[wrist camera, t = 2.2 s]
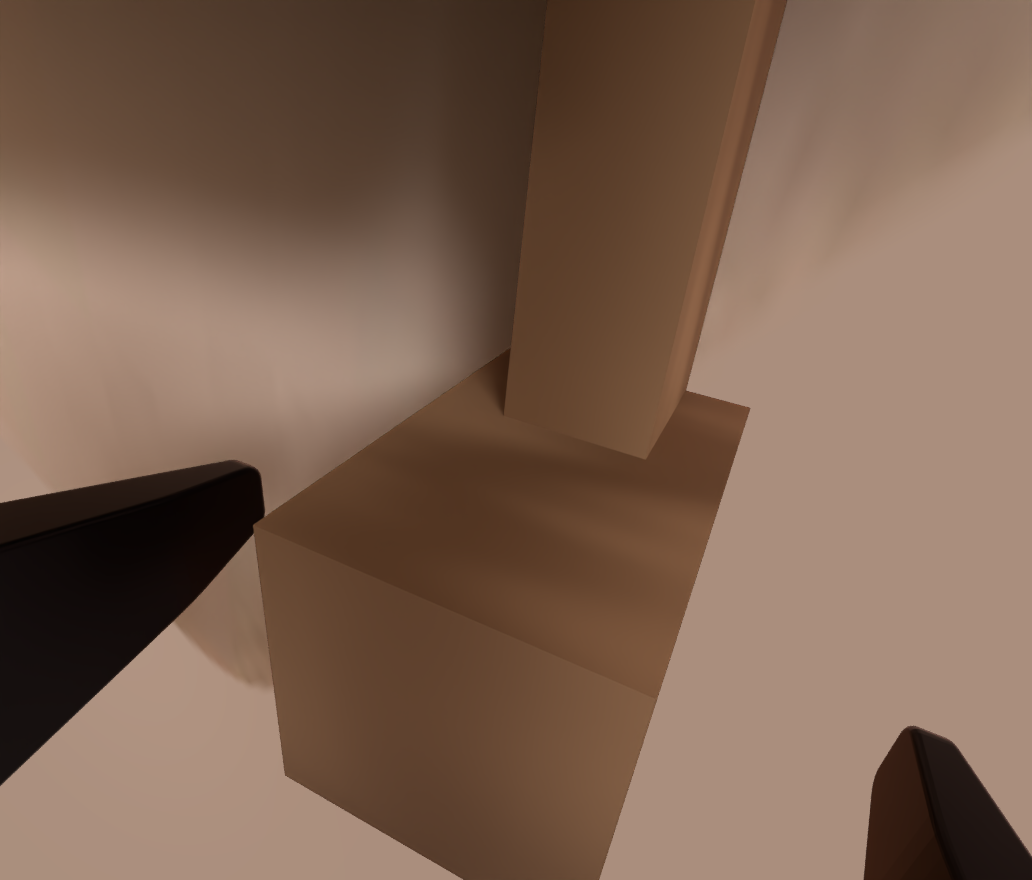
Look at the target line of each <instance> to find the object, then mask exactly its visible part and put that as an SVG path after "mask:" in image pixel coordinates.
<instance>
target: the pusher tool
mask: <svg viewBox="0 0 1032 880" xmlns="http://www.w3.org/2000/svg"><path fill="white" fill-rule="evenodd" d="M786 3H787V0H547V7H546V17H545V26H544V36H543V45H542V55H541V64H540V74H539V83H538V93H537V102H536V112H535V122H534V131H533V141H532V150H531V160H530V169H529V179H528V188H527V198H526V207H525V217H524V226H523V236H522V246H521V255H520V265H519V274H518V284H517V293H516V303H515V312H514V322H513V331H512V341H511V348H510V349H508V350H507V351H505V352H504V353H502V354H501V355H499V356H498V357H497V358H495V359H494V360H492V361H491V362H489V363H488V364H486V365H485V366H483V367H482V368H481V369H479V370H478V371H476V372H475V373H473V374H472V375H470V376H469V377H467V378H466V379H465V380H463V381H462V382H460V383H459V384H457V385H456V386H454V387H453V388H451V389H450V390H449V391H447V392H446V393H444V394H443V395H441V396H440V397H438V398H437V399H435V400H434V401H433V402H431V403H430V404H428V405H427V406H425V407H424V408H422V409H421V410H419V411H418V412H417V413H415V414H414V415H412V416H411V417H409V418H408V419H406V420H405V421H403V422H402V423H401V424H399V425H398V426H396V427H395V428H393V429H392V430H390V431H389V432H388V433H386V434H385V435H383V436H382V437H380V438H379V439H377V440H376V441H374V442H373V443H372V444H370V445H369V446H367V447H366V448H364V449H363V450H361V451H360V452H358V453H357V454H356V455H354V456H353V457H351V458H350V459H348V460H347V461H345V462H344V463H342V464H341V465H340V466H338V467H337V468H335V469H334V470H332V471H331V472H329V473H328V474H326V475H325V476H324V477H322V478H321V479H319V480H318V481H316V482H315V483H313V484H312V485H310V486H309V487H308V488H306V489H305V490H303V491H302V492H300V493H299V494H297V495H296V496H294V497H293V498H292V499H290V500H289V501H287V502H286V503H284V504H283V505H281V506H280V507H278V508H277V509H276V510H274V511H273V512H271V513H270V514H268V515H267V516H265V517H264V518H262V519H261V520H260V521H258V522H257V523H255V524H254V525H253V529H254V536H255V544H256V552H257V560H258V568H259V575H260V583H261V591H262V599H263V607H264V615H265V622H266V630H267V638H268V646H269V654H270V661H271V669H272V677H273V685H274V693H275V699H276V708H277V716H278V724H279V732H280V739H281V747H282V755H283V763H284V771H285V776H287V777H289V778H291V779H292V780H294V781H296V782H297V783H299V784H301V785H303V786H304V787H306V788H308V789H309V790H311V791H313V792H315V793H316V794H318V795H320V796H322V797H323V798H325V799H327V800H328V801H330V802H332V803H333V804H335V805H337V806H339V807H340V808H342V809H344V810H345V811H347V812H349V813H351V814H352V815H354V816H356V817H357V818H359V819H361V820H362V821H364V822H366V823H368V824H369V825H371V826H373V827H375V828H376V829H378V830H380V831H381V832H383V833H385V834H386V835H388V836H390V837H392V838H393V839H395V840H397V841H398V842H400V843H402V844H403V845H405V846H407V847H409V848H410V849H412V850H414V851H415V852H417V853H419V854H421V855H422V856H424V857H426V858H427V859H429V860H431V861H433V862H434V863H436V864H438V865H440V866H441V867H443V868H445V869H446V870H448V871H450V872H451V873H453V874H455V875H457V876H458V877H460V878H462V879H463V880H599V878H600V875H601V872H602V869H603V866H604V863H605V859H606V856H607V853H608V850H609V847H610V844H611V841H612V838H613V835H614V832H615V828H616V825H617V822H618V819H619V816H620V813H621V809H622V807H623V803H624V801H625V797H626V794H627V791H628V788H629V785H630V782H631V778H632V776H633V773H634V769H635V766H636V763H637V760H638V757H639V754H640V751H641V748H642V745H643V741H644V738H645V735H646V732H647V729H648V726H649V723H650V720H651V717H652V714H653V710H654V707H655V704H656V701H657V697H658V695H659V692H660V689H661V686H662V682H663V679H664V676H665V673H666V670H667V667H668V664H669V661H670V658H671V654H672V651H673V648H674V645H675V642H676V639H677V636H678V632H679V630H680V627H681V623H682V620H683V617H684V614H685V611H686V608H687V605H688V602H689V599H690V595H691V592H692V589H693V586H694V583H695V580H696V577H697V574H698V570H699V567H700V564H701V561H702V558H703V554H704V552H705V549H706V545H707V542H708V539H709V536H710V533H711V530H712V526H713V523H714V520H715V517H716V514H717V511H718V508H719V504H720V502H721V499H722V495H723V492H724V489H725V486H726V483H727V480H728V477H729V473H730V470H731V467H732V464H733V461H734V458H735V455H736V451H737V448H738V445H739V442H740V439H741V435H742V433H743V429H744V427H745V423H746V420H747V417H748V414H749V411H750V408H749V407H745V406H741V405H737V404H734V403H730V402H726V401H722V400H719V399H715V398H711V397H708V396H704V395H700V394H696V393H693V392H689V391H686V388H687V384H688V381H689V377H690V373H691V369H692V365H693V361H694V357H695V354H696V350H697V346H698V342H699V338H700V334H701V330H702V327H703V323H704V319H705V315H706V311H707V307H708V303H709V300H710V296H711V292H712V288H713V284H714V280H715V276H716V273H717V269H718V265H719V261H720V257H721V253H722V249H723V246H724V242H725V238H726V234H727V230H728V226H729V222H730V219H731V215H732V211H733V207H734V203H735V199H736V195H737V192H738V188H739V184H740V180H741V176H742V172H743V169H744V165H745V161H746V157H747V153H748V149H749V145H750V142H751V138H752V134H753V130H754V126H755V122H756V118H757V115H758V111H759V107H760V103H761V99H762V95H763V91H764V88H765V84H766V80H767V76H768V72H769V68H770V64H771V61H772V57H773V53H774V49H775V45H776V41H777V37H778V34H779V30H780V26H781V22H782V18H783V14H784V10H785V7H786Z"/></svg>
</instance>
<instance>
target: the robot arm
mask: <svg viewBox="0 0 1032 880" xmlns="http://www.w3.org/2000/svg"><path fill="white" fill-rule="evenodd" d="M264 515H265V506H264V498H263V489H262V481H261V475H260V473H259V471H258V469H256V468H255V467H253V466H251V465H248V464H245V463H243V462H240V461H237V460H228V461H223V462H217V463H212V464H207V465H201V466H196V467H191V468H185V469H180V470H174V471H169V472H164V473H158V474H153V475H148V476H142V477H137V478H131V479H126V480H121V481H115V482H110V483H105V484H99V485H94V486H89V487H83V488H78V489H72V490H67V491H62V492H56V493H51V494H46V495H40V496H35V497H30V498H24V499H19V500H14V501H8V502H3V503H0V786H1V785H2V784H3V783H4V782H5V781H6V780H7V779H8V778H9V777H10V776H11V775H12V774H13V773H14V772H15V771H17V770H18V769H19V767H21V766H22V765H23V764H24V763H25V762H26V761H27V760H28V759H29V758H30V757H31V756H32V755H33V754H34V753H35V752H36V751H38V750H39V749H40V748H41V747H42V746H43V745H44V744H45V743H46V742H47V741H48V740H49V739H50V738H51V737H52V736H53V735H54V734H55V733H56V732H57V731H59V730H60V729H61V728H62V727H63V726H64V725H65V724H66V723H67V722H68V721H69V720H70V719H71V718H72V717H73V716H74V715H75V714H76V713H77V712H78V711H79V710H81V709H82V708H83V707H84V706H85V704H87V703H88V702H89V701H90V700H91V699H92V698H93V697H94V696H95V695H96V694H97V693H98V692H99V691H100V690H101V689H103V688H104V687H105V686H106V685H107V684H108V683H109V682H110V681H111V680H112V679H113V678H114V677H115V676H116V675H117V674H118V673H119V672H120V671H122V670H123V668H125V667H126V666H127V665H128V664H129V663H130V662H131V661H132V660H133V659H134V658H135V657H136V656H137V655H138V654H139V653H140V652H141V651H143V649H144V648H146V647H147V646H148V645H149V644H150V643H151V642H152V641H153V640H154V639H155V638H156V637H157V636H158V635H159V634H160V633H161V632H162V631H164V630H165V629H166V628H167V627H168V626H169V625H170V624H171V623H172V622H173V621H174V620H175V619H176V618H177V617H178V616H179V615H180V614H181V613H182V612H183V611H184V610H185V609H186V608H187V607H188V606H189V605H190V604H191V603H192V602H193V601H194V600H195V599H196V598H197V597H198V596H199V595H200V594H201V593H202V592H203V591H204V589H205V588H206V587H207V586H208V585H209V584H210V583H211V582H212V580H213V579H214V578H215V577H216V576H217V575H218V574H219V572H220V571H221V570H222V569H223V568H224V567H225V566H226V564H227V563H228V562H229V561H230V560H231V559H232V558H233V556H234V555H235V554H236V553H237V552H238V551H239V550H240V548H241V547H242V546H243V545H244V544H245V543H246V542H247V540H248V539H249V538H250V537H251V536H252V535H253V534H254V529H253V525H254V524H255V523H257V522H258V521H260V520H261V519H262V518H264ZM864 880H1032V856H1031V854H1030V853H1029V851H1028V850H1027V848H1026V847H1025V846H1024V844H1023V843H1022V841H1021V840H1020V838H1019V837H1018V835H1017V834H1016V832H1015V831H1014V829H1013V828H1012V826H1011V825H1010V824H1009V822H1008V821H1007V819H1006V818H1005V816H1004V815H1003V813H1002V812H1001V810H1000V809H999V807H998V806H997V805H996V803H995V802H994V800H993V799H992V798H991V796H990V794H989V793H988V791H987V790H986V788H985V787H984V786H983V784H982V783H981V781H980V780H979V778H978V777H977V775H976V774H975V772H974V771H973V770H972V768H971V767H970V765H969V764H968V762H967V761H966V759H965V758H964V756H963V755H962V753H961V752H960V751H959V749H958V748H957V746H956V745H955V744H954V743H953V742H952V741H950V740H948V739H947V738H945V737H942V736H940V735H937V734H934V733H932V732H929V731H927V730H924V729H922V728H919V727H916V726H908V727H906V728H905V729H904V730H903V731H902V732H901V733H900V735H899V736H898V738H897V740H896V741H895V743H894V744H893V746H892V748H891V749H890V751H889V752H888V754H887V756H886V757H885V759H884V760H883V762H882V764H881V765H880V767H879V768H878V770H877V773H876V775H875V779H874V782H873V787H872V794H871V805H870V816H869V827H868V838H867V848H866V860H865V871H864Z"/></svg>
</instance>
